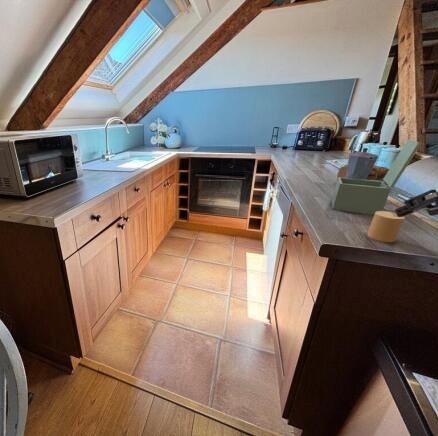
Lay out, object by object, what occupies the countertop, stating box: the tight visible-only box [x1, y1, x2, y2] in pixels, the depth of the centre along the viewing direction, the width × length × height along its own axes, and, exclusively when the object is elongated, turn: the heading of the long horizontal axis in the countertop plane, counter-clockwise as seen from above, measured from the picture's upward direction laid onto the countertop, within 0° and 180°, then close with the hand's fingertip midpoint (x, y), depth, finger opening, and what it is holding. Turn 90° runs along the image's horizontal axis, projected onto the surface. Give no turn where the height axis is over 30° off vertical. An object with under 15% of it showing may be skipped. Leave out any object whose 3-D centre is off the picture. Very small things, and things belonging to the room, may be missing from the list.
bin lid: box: [383, 139, 422, 189], centre depth 81 cm, size 14×12×1 cm
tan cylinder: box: [366, 210, 406, 243], centre depth 68 cm, size 6×6×7 cm
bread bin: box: [331, 177, 392, 216], centre depth 90 cm, size 14×12×10 cm
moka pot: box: [345, 147, 379, 180], centre depth 103 cm, size 10×15×20 cm, turn 170°
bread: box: [336, 164, 390, 185], centre depth 119 cm, size 19×11×10 cm, turn 72°
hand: (413, 212), depth 61 cm, fingers open, 8 cm apart
